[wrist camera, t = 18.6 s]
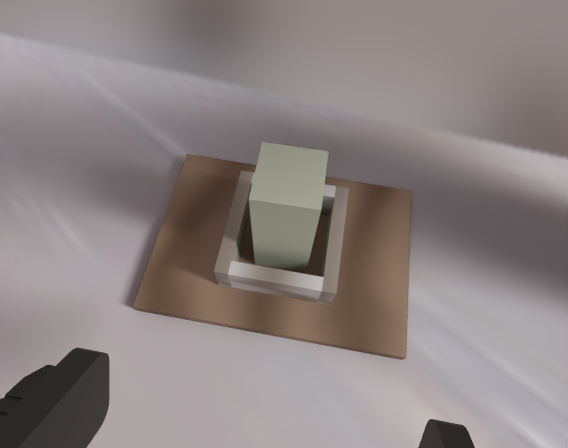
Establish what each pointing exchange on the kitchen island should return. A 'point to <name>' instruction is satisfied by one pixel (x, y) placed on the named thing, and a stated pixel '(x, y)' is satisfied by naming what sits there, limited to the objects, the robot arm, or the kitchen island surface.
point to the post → (286, 204)
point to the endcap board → (277, 281)
